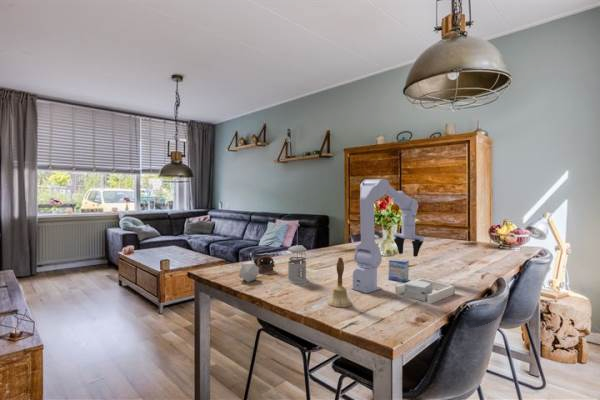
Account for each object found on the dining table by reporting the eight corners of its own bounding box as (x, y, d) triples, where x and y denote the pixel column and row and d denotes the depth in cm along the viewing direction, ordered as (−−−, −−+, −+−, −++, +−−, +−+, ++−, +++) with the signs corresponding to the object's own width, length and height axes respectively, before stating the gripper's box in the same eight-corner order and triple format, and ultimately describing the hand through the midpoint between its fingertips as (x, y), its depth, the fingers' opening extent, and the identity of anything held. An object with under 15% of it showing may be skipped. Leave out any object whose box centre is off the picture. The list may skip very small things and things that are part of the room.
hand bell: (331, 298, 119) (332, 254, 119) (354, 301, 116) (354, 256, 116) (324, 305, 112) (324, 259, 111) (348, 309, 109) (348, 261, 108)
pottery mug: (278, 270, 162) (278, 258, 158) (268, 282, 155) (267, 270, 151) (258, 262, 167) (258, 249, 163) (247, 273, 160) (246, 261, 156)
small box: (403, 297, 121) (404, 283, 121) (412, 292, 127) (412, 279, 127) (424, 301, 116) (425, 287, 116) (433, 296, 122) (433, 282, 122)
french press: (281, 282, 140) (281, 223, 139) (294, 275, 151) (294, 221, 150) (302, 284, 136) (302, 224, 135) (313, 278, 146) (313, 222, 146)
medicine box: (388, 279, 144) (388, 260, 144) (390, 277, 148) (390, 258, 148) (406, 282, 140) (407, 262, 140) (408, 279, 144) (408, 260, 144)
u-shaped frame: (429, 303, 113) (430, 295, 113) (395, 293, 124) (395, 286, 124) (454, 293, 125) (455, 285, 125) (421, 285, 136) (421, 278, 136)
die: (261, 283, 141) (263, 262, 146) (247, 276, 135) (250, 255, 141) (247, 287, 145) (250, 266, 150) (233, 281, 139) (236, 260, 144)
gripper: (428, 225, 144) (427, 256, 145) (400, 223, 156) (399, 251, 156) (419, 227, 140) (418, 258, 140) (390, 224, 151) (390, 253, 152)
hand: (408, 255), depth 148 cm, fingers open, 7 cm apart
